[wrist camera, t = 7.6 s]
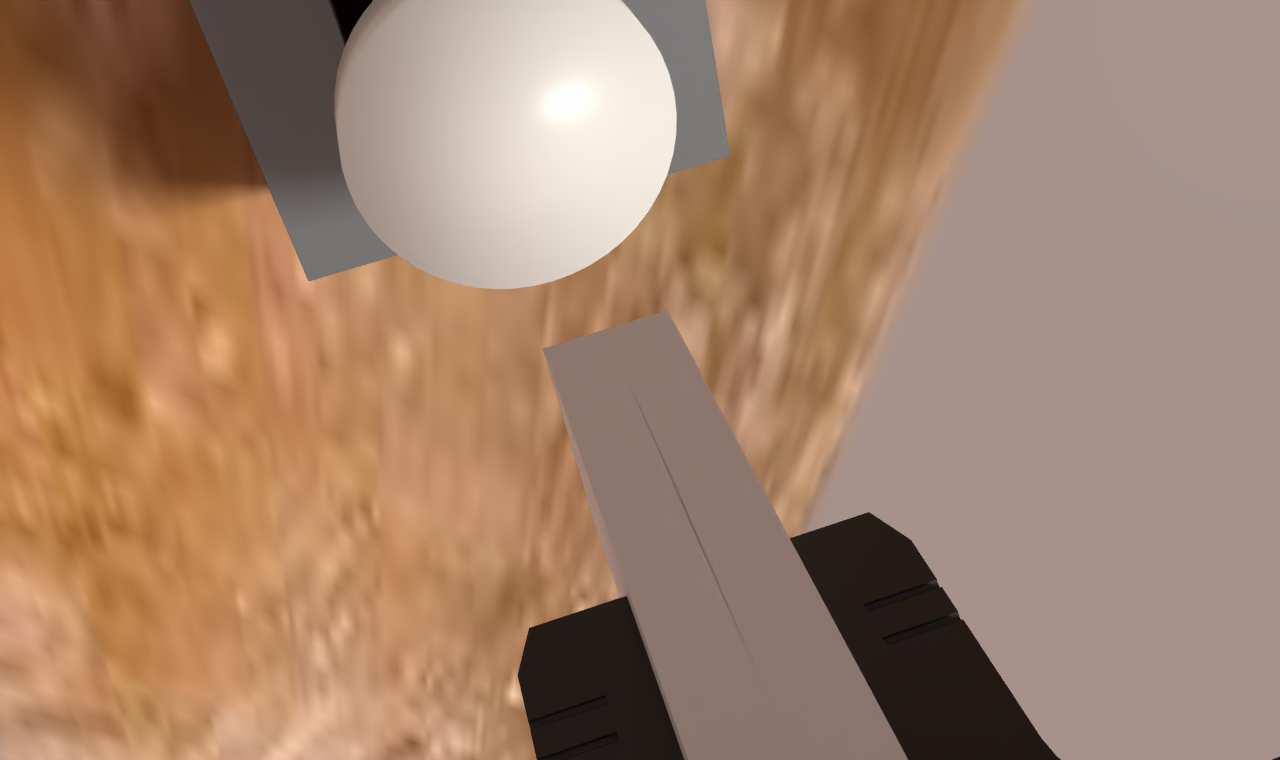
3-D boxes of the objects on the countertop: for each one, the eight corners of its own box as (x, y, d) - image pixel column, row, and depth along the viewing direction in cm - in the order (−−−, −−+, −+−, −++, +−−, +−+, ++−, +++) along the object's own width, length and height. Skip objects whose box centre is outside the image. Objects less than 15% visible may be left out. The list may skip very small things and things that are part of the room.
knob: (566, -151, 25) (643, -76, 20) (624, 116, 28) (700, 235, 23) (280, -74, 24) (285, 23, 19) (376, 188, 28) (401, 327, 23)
